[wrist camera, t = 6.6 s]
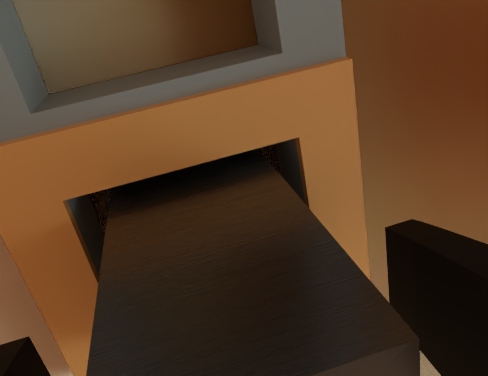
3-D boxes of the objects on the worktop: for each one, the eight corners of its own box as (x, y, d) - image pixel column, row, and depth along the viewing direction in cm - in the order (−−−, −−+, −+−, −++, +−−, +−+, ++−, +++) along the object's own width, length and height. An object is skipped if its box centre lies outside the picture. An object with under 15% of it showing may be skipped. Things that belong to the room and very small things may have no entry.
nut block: (245, 133, 12) (419, 338, 5) (267, 243, 13) (421, 526, 6) (113, 167, 11) (74, 455, 4) (152, 277, 13) (173, 626, 6)
